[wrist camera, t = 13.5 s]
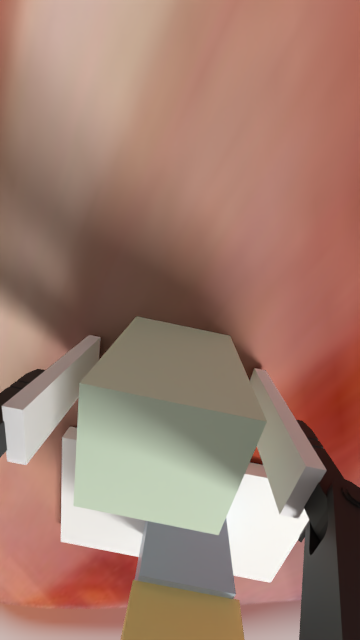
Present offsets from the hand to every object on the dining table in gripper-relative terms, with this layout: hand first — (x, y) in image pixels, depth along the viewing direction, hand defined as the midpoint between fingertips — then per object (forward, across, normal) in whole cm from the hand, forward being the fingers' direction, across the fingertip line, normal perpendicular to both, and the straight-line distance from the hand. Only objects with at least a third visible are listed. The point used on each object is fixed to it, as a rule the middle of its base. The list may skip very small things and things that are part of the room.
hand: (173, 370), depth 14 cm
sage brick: (0, 0, 0) cm, 0 cm away
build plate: (0, +3, -13) cm, 13 cm away
